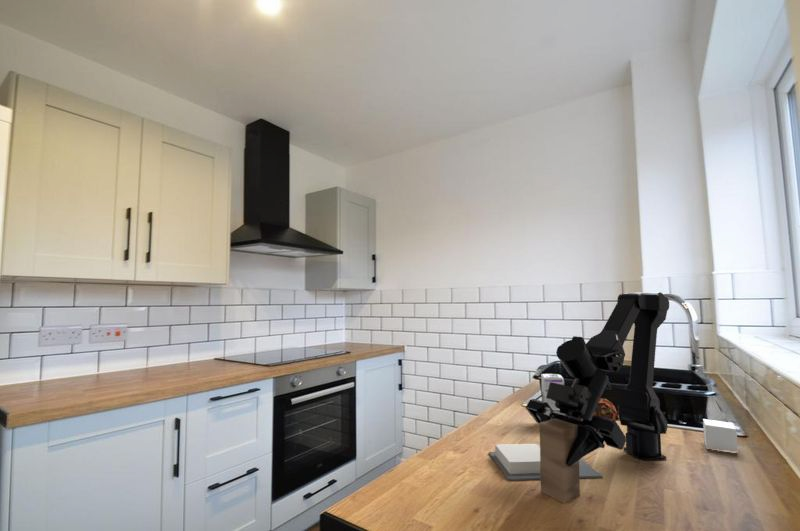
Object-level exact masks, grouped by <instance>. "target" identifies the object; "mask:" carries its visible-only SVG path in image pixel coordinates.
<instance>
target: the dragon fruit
mask: <svg viewBox="0 0 800 531" xmlns="http://www.w3.org/2000/svg"><path fill="white" fill-rule="evenodd" d="M598 405H599V406H600V408H601V409H600V411H599V412H597V411H595V412H594V414H593V416H596V415H598V416H602V417H606V418H610V419H613V420H615V421H616V422H617V421H620V419H619V415H618V411H617V407H616V406H615V405H614V404H613V403H612V402H611V401H609V400H608V399H607V398H602V397H601V399H600V401H599V403H598ZM592 418H593V417H592ZM591 420H592V419H591Z"/></svg>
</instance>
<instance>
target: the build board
mask: <svg viewBox="0 0 800 531" xmlns="http://www.w3.org/2000/svg"><path fill="white" fill-rule="evenodd" d="M494 446H495V448H494V451H488V455H489V456H490V457H491V459H492V461H494V463H495V464H496V465H497V467H498V468H499V470H500V471H501V473H502V474H503V476H505V478H506V479H507V480H508V481H536V480H537V481H538V480H539V481H541V474H540V444H539V445H538V443H512V444H511V443H508V444H507V443H505V444H494ZM579 476H580V479H598V478H599V479H602V478H603V475H602V474H601V473H600V472H599V471H597V470H596V469H595V468H593V467H592V466H591V465H590V464H588V463H587V462H586V461H585V460H583V458H581V459H580V460H579Z"/></svg>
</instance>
